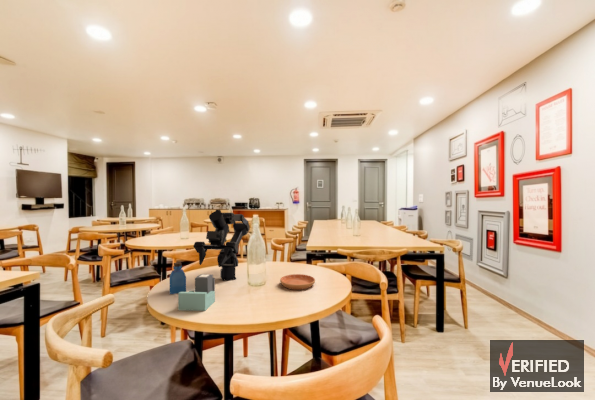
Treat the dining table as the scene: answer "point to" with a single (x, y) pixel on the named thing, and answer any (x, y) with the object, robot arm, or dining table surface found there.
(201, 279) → the grey block
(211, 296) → the socket
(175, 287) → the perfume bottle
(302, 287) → the saucer
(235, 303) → the dining table surface
